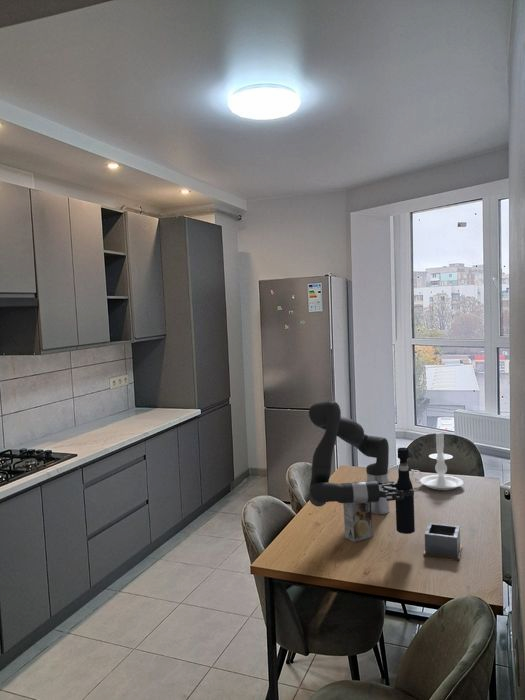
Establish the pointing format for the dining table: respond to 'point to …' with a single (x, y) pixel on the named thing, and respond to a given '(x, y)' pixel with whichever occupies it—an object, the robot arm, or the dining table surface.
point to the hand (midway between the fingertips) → (410, 489)
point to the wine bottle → (405, 505)
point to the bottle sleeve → (442, 541)
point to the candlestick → (439, 470)
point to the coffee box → (358, 521)
